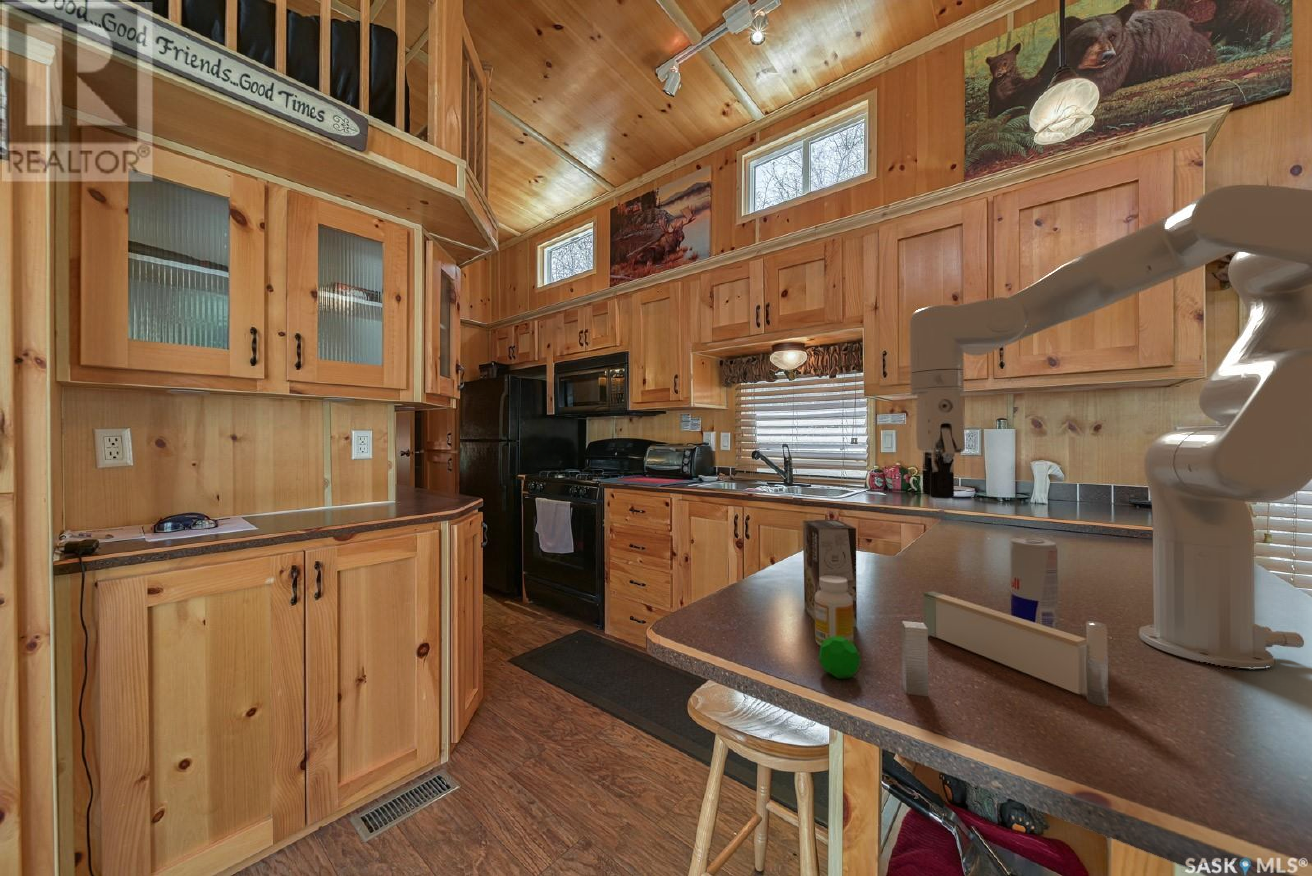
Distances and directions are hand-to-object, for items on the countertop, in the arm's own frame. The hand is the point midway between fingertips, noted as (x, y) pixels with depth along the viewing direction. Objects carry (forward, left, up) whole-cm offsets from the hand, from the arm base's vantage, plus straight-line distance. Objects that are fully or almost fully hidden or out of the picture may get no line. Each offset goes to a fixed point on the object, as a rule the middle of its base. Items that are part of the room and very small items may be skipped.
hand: (937, 494), depth 79 cm
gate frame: (-1, +22, -21) cm, 31 cm away
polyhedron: (+17, +22, -22) cm, 35 cm away
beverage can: (-12, +3, -22) cm, 25 cm away
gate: (-4, +12, -21) cm, 25 cm away
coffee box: (+17, +1, -22) cm, 27 cm away
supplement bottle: (+17, +12, -22) cm, 30 cm away
